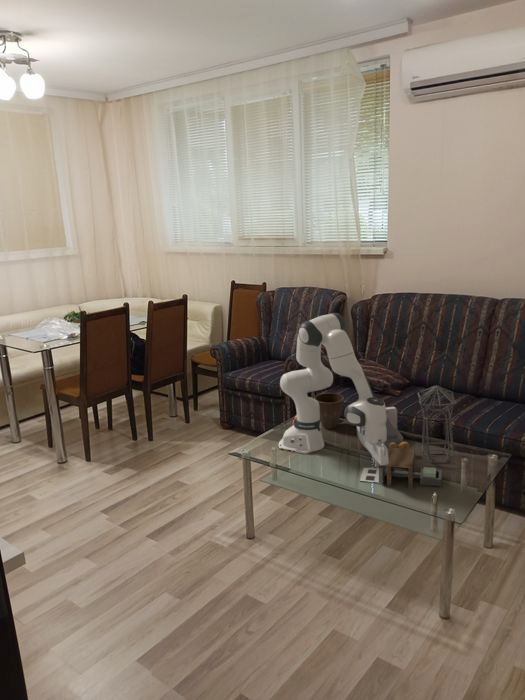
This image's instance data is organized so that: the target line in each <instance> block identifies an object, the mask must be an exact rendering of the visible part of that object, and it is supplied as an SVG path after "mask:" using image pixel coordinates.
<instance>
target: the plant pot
mask: <svg viewBox="0 0 525 700" xmlns="http://www.w3.org/2000/svg"><path fill="white" fill-rule="evenodd" d="M314 399H315V400H317V401H318V403H319V407H320V418H321V426H322V427H323V429H326V428H327V430H333V429H336V428H337V427H338V425H339V422H340V418H341V414H342V410H343V406H344V395H342V394H339V393H333V392H324V393H320V394H319V393H318V394H317V395H315V396H314ZM336 426H337V427H336ZM335 427H336V428H335ZM332 428H333V429H332Z"/></svg>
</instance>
